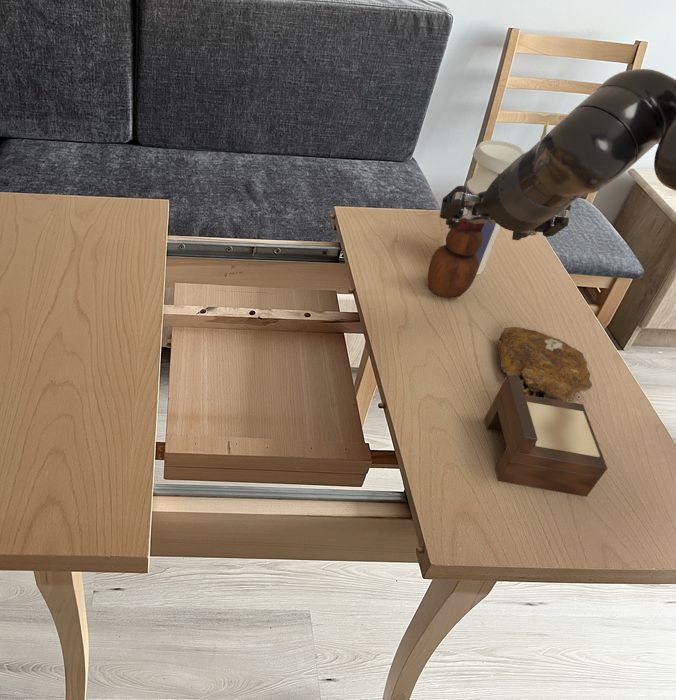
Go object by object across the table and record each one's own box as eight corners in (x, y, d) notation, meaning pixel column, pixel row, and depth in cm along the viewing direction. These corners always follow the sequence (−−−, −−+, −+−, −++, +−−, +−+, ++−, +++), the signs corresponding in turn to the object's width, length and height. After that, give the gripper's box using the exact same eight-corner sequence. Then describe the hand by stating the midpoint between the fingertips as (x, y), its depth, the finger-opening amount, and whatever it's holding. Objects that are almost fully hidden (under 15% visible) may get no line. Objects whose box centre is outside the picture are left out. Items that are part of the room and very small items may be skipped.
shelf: (565, 432, 86) (592, 389, 81) (586, 497, 78) (619, 453, 73) (484, 418, 86) (506, 374, 81) (497, 481, 78) (524, 437, 74)
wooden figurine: (464, 285, 108) (500, 200, 99) (467, 307, 104) (504, 219, 94) (421, 277, 109) (452, 191, 99) (422, 298, 105) (454, 210, 95)
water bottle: (476, 248, 118) (536, 103, 101) (493, 277, 111) (560, 128, 95) (429, 245, 117) (482, 99, 101) (444, 274, 110) (503, 123, 94)
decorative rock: (597, 426, 88) (562, 353, 99) (614, 402, 85) (576, 330, 97) (509, 409, 87) (485, 337, 99) (523, 385, 85) (497, 315, 97)
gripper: (463, 210, 77) (426, 245, 93) (593, 232, 76) (532, 263, 92) (474, 146, 78) (435, 191, 94) (603, 167, 77) (541, 209, 93)
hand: (483, 227), depth 93 cm, fingers open, 8 cm apart
